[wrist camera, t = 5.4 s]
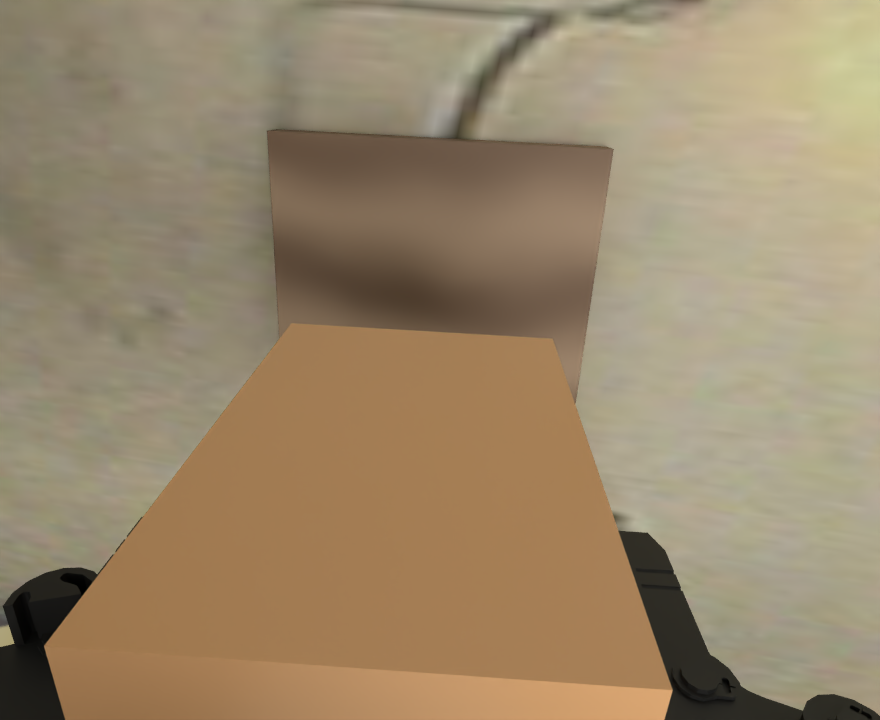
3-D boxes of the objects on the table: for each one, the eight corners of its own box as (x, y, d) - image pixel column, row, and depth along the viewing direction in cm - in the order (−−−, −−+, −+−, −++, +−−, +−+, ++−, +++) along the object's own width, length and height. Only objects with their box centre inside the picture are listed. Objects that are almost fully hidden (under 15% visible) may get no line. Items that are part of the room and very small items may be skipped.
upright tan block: (291, 323, 15) (44, 646, 6) (552, 338, 15) (672, 690, 6) (302, 532, 18) (138, 970, 9) (525, 546, 18) (583, 1005, 9)
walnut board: (277, 129, 28) (267, 130, 27) (606, 146, 28) (613, 149, 26) (300, 574, 38) (294, 591, 37) (541, 591, 38) (544, 609, 37)
